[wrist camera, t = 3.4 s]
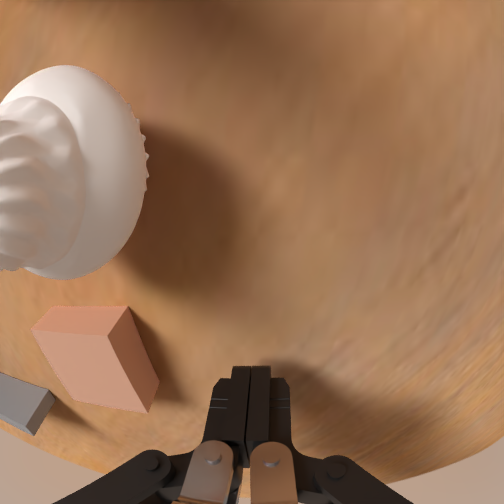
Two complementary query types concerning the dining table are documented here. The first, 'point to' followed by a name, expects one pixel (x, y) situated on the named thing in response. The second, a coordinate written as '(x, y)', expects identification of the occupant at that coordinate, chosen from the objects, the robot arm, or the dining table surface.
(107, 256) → the white rounded ceramic piece
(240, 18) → the dining table surface
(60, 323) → the block
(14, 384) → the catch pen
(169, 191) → the dining table surface
